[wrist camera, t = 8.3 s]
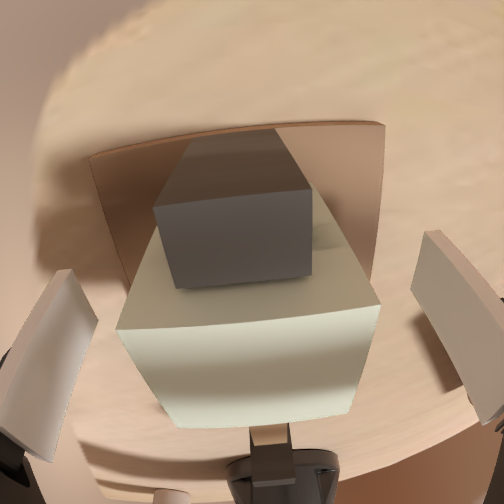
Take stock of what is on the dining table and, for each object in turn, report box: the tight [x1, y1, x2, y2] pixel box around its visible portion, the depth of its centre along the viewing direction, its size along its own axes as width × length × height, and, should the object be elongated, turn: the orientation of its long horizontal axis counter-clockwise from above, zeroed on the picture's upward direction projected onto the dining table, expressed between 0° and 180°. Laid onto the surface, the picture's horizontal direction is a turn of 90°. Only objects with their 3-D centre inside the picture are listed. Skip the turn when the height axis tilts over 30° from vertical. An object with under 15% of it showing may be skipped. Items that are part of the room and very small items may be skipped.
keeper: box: [115, 182, 381, 428], centre depth 10 cm, size 5×6×7 cm
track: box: [89, 122, 385, 487], centre depth 15 cm, size 22×12×7 cm, turn 5°
